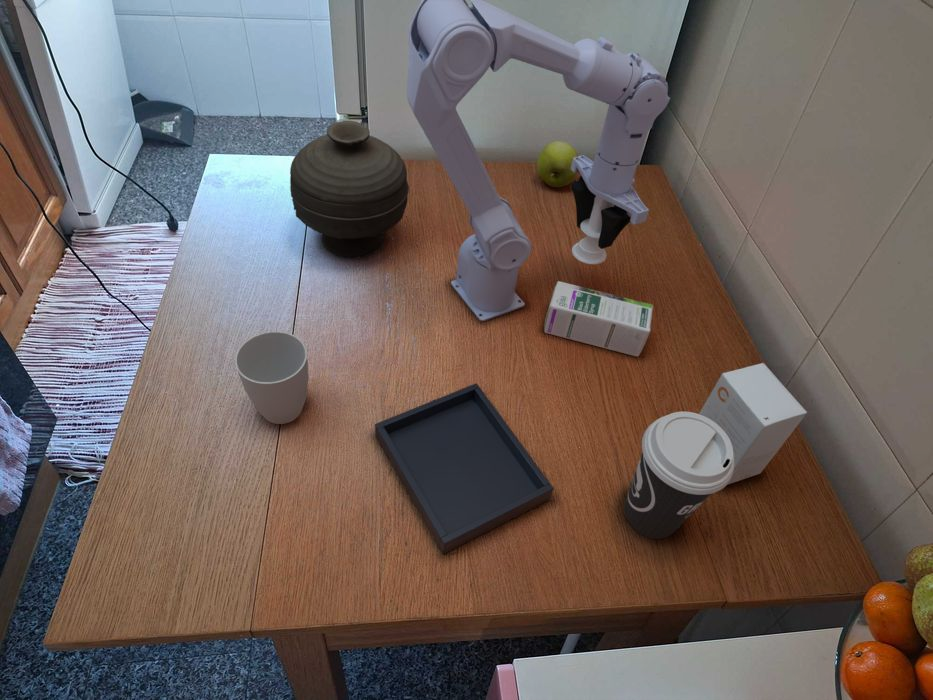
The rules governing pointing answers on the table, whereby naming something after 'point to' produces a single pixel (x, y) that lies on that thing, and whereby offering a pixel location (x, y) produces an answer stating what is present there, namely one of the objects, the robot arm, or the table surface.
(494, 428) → the tray
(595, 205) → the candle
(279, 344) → the cup
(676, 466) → the coffee cup
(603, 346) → the syrup box
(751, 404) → the small box
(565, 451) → the table surface
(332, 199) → the pot
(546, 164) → the apple
